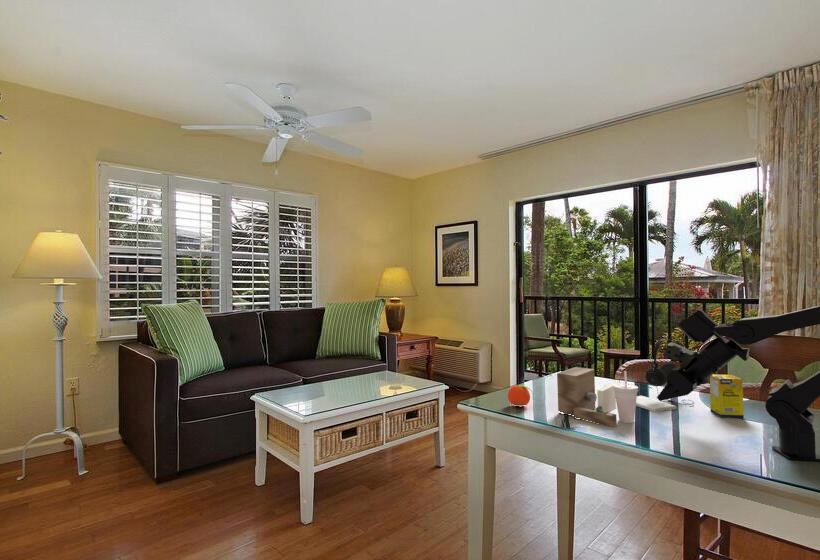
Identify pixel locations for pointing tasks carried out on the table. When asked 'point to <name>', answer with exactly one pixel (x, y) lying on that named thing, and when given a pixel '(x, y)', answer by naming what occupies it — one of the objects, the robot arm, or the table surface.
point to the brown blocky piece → (581, 396)
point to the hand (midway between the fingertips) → (663, 395)
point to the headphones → (660, 370)
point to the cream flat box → (606, 399)
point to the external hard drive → (653, 404)
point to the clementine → (519, 395)
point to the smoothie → (626, 400)
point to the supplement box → (726, 396)
